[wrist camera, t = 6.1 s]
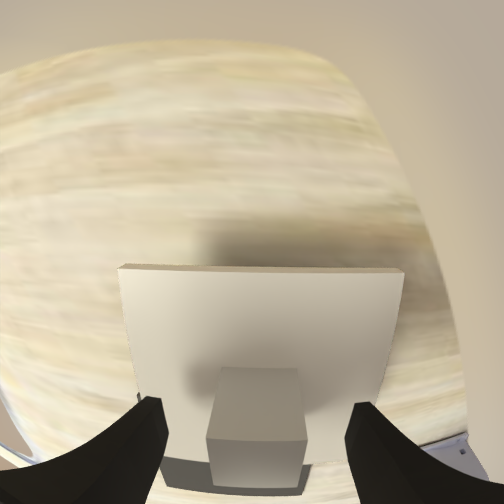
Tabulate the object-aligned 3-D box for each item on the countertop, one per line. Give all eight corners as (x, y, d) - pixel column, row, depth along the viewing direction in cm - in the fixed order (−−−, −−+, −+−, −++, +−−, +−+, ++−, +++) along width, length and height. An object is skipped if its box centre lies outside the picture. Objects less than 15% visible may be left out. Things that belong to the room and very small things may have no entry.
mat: (323, 403, 18) (324, 406, 17) (301, 492, 20) (301, 495, 20) (138, 392, 18) (136, 395, 18) (167, 483, 21) (166, 486, 20)
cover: (396, 267, 11) (463, 313, 6) (352, 449, 13) (369, 513, 8) (126, 263, 11) (55, 306, 6) (161, 445, 13) (139, 507, 9)
